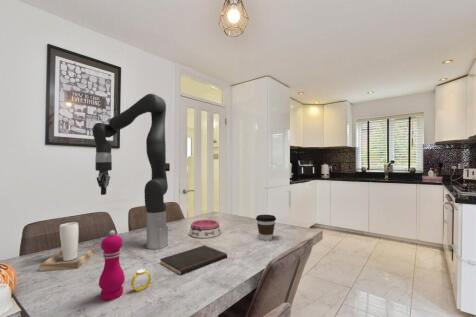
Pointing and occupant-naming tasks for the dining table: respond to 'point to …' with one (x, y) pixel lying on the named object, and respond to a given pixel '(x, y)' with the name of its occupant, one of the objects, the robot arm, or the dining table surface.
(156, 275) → the dining table surface
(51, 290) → the dining table surface
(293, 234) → the dining table surface
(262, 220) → the coffee cup
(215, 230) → the dog bowl
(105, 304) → the dining table surface
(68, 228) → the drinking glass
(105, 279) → the pepper mill
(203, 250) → the hardcover book
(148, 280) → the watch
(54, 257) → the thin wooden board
